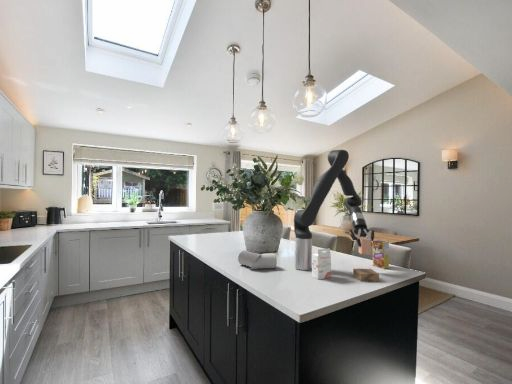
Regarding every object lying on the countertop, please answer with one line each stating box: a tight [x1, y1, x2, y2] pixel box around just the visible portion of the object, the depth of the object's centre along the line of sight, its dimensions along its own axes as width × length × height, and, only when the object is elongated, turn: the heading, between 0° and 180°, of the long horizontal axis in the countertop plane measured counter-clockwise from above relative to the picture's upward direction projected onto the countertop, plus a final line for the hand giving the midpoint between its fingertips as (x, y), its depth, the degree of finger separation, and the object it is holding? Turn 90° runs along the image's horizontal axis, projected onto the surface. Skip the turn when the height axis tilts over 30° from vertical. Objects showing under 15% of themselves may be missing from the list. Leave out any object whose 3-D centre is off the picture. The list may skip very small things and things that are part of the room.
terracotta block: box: [358, 237, 372, 255], centre depth 143 cm, size 5×5×8 cm
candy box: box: [372, 239, 390, 270], centre depth 154 cm, size 9×4×15 cm, turn 17°
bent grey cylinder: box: [237, 250, 278, 270], centre depth 151 cm, size 18×11×20 cm
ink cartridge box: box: [311, 248, 332, 280], centre depth 133 cm, size 9×5×15 cm, turn 117°
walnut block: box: [352, 268, 380, 282], centre depth 131 cm, size 9×9×4 cm
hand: (365, 246), depth 143 cm, fingers closed on terracotta block, 5 cm apart
